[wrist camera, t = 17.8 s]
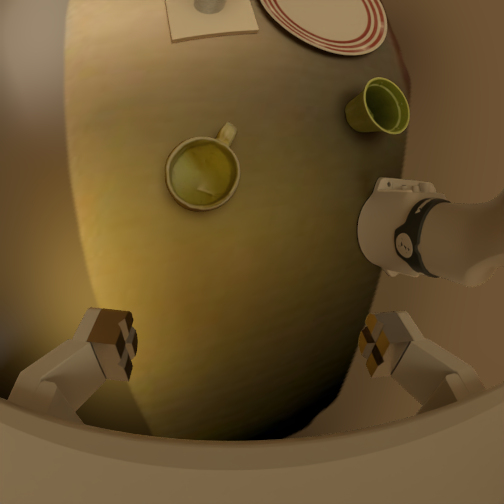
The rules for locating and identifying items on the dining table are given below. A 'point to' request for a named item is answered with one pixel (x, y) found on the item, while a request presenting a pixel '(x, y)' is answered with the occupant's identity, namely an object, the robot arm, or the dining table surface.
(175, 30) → the serving tile
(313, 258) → the dining table surface
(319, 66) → the dining table surface
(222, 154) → the mug
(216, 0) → the pepper mill
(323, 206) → the dining table surface
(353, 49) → the dinner plate
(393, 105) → the plant pot
